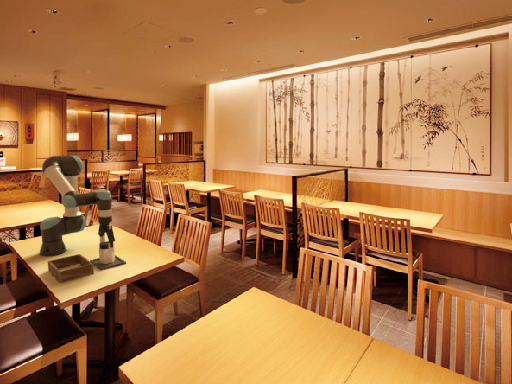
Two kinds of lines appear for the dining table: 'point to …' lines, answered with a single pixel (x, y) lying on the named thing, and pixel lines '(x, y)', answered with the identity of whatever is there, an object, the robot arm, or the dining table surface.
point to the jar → (106, 253)
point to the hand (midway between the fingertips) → (107, 249)
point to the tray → (101, 266)
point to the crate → (72, 273)
